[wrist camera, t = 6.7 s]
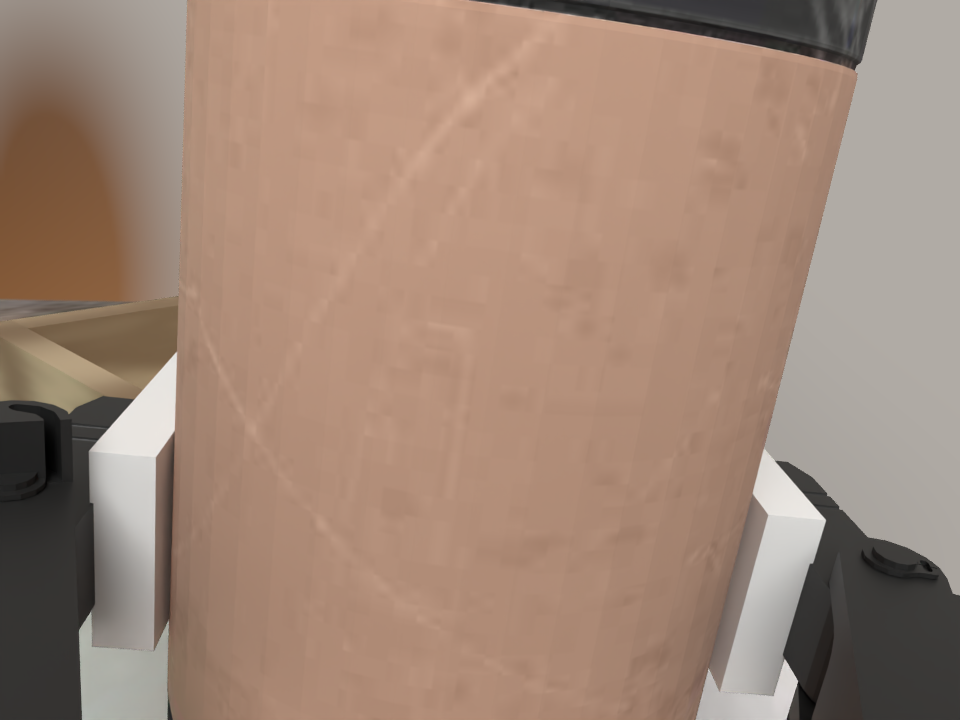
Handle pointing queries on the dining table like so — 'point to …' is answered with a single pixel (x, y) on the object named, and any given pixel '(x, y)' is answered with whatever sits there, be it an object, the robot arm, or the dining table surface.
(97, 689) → the dining table surface
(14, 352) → the corner tray
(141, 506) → the robot arm
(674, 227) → the travel mug
